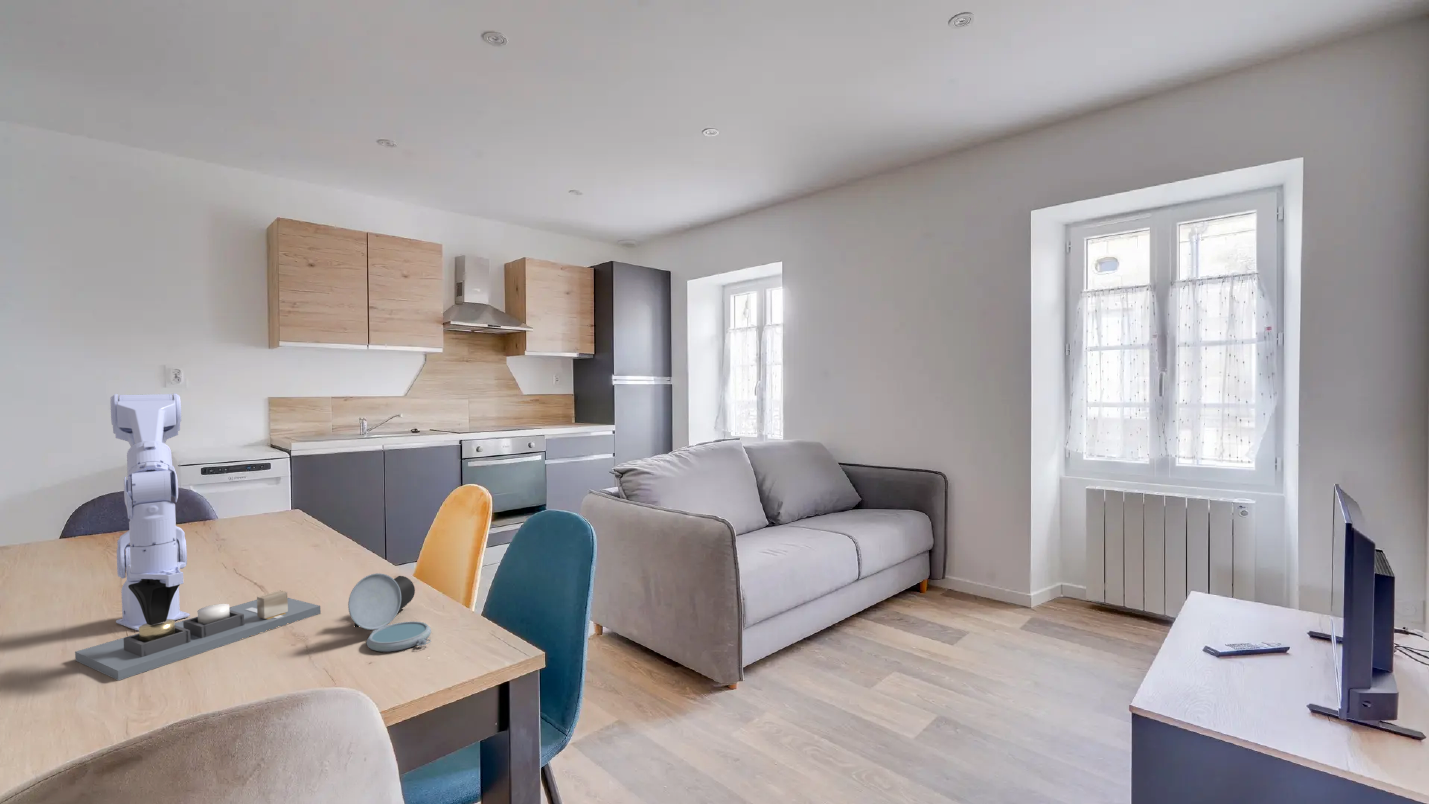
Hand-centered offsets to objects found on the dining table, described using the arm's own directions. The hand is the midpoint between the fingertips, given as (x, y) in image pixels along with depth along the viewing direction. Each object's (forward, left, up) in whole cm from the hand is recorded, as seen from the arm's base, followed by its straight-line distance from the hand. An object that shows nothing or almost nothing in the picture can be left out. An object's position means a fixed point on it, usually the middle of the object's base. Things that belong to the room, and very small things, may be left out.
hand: (156, 622), depth 101 cm
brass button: (0, 0, -2) cm, 2 cm away
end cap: (+20, +27, -6) cm, 34 cm away
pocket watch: (+32, +21, -6) cm, 39 cm away
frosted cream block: (+3, +16, -4) cm, 17 cm away
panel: (-2, +8, -6) cm, 10 cm away
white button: (0, +8, -2) cm, 8 cm away
